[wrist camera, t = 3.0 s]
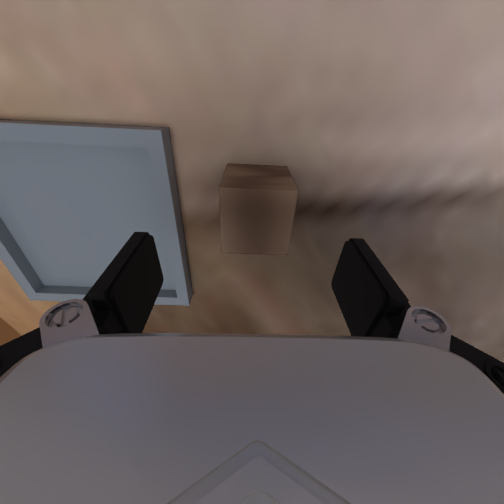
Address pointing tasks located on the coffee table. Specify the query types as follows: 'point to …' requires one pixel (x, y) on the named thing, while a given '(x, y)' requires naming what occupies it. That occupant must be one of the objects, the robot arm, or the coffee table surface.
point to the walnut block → (256, 209)
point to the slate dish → (87, 205)
